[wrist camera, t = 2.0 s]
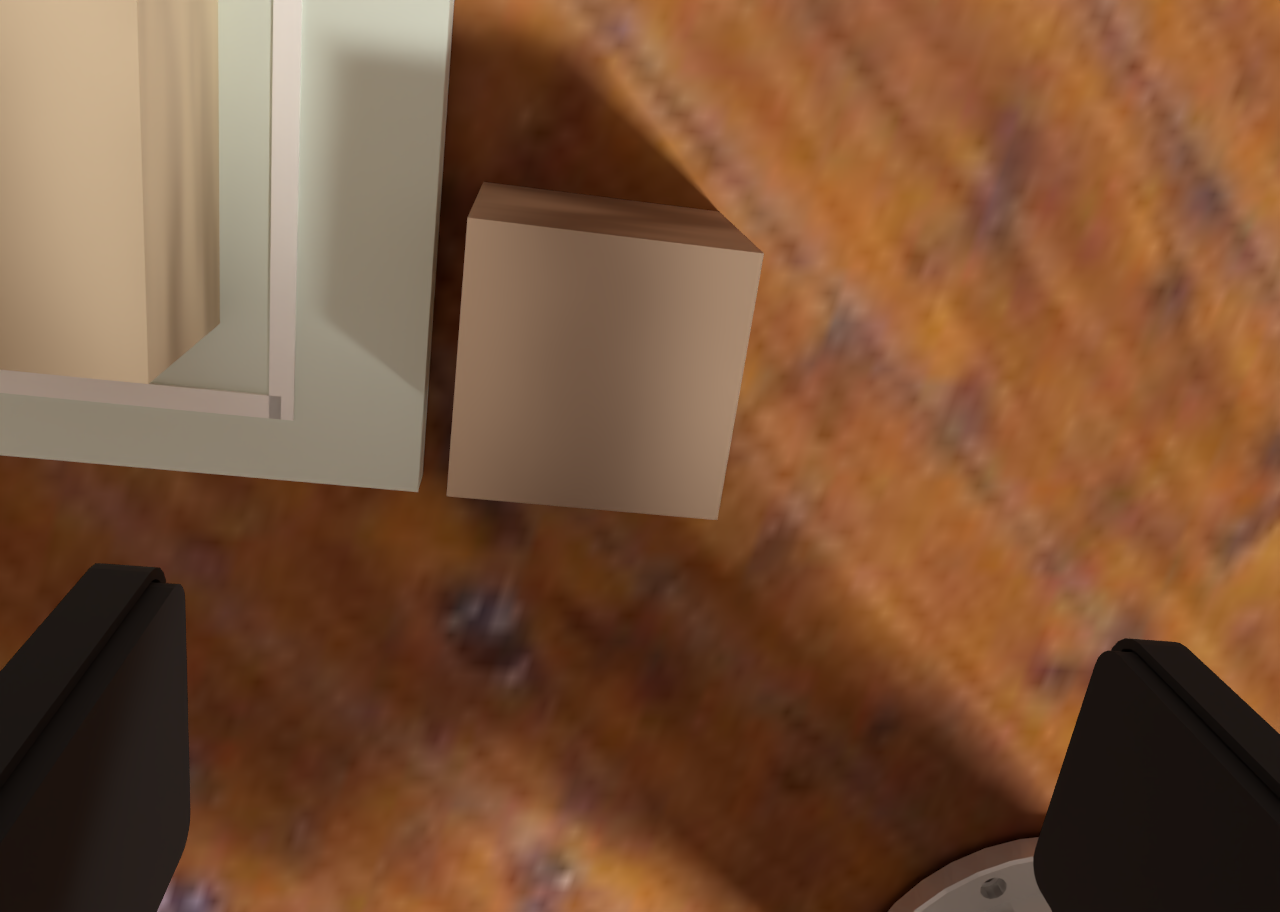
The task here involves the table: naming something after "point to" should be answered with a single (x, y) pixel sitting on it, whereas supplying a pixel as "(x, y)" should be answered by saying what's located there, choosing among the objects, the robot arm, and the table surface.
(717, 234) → the walnut cube
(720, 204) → the table surface
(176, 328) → the oak block
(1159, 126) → the table surface
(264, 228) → the cream flat plate
